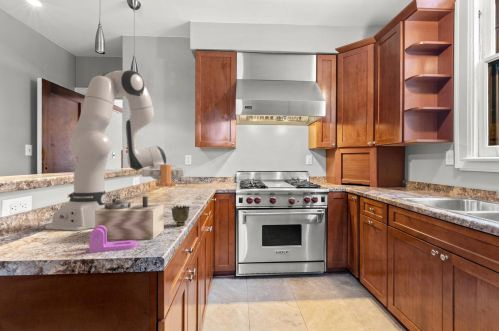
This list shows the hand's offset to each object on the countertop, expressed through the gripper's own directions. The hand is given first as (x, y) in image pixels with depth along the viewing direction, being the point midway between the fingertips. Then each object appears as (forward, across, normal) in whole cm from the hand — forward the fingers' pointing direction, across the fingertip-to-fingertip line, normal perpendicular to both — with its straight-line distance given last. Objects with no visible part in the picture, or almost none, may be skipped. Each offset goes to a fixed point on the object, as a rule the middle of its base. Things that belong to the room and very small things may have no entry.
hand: (166, 173), depth 129 cm
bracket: (+37, -23, +22) cm, 49 cm away
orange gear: (-1, 0, +6) cm, 6 cm away
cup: (+16, +3, +22) cm, 27 cm away
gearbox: (+22, -17, +22) cm, 35 cm away
